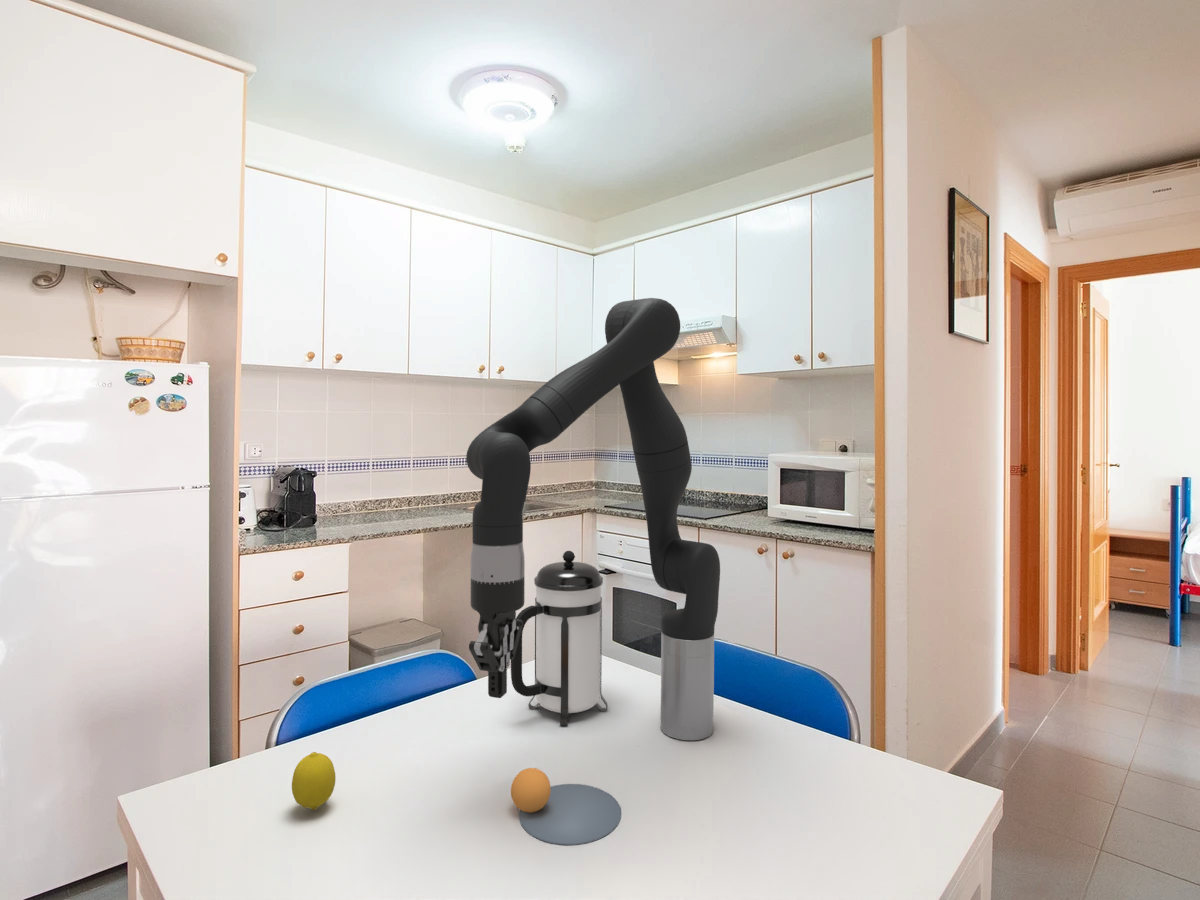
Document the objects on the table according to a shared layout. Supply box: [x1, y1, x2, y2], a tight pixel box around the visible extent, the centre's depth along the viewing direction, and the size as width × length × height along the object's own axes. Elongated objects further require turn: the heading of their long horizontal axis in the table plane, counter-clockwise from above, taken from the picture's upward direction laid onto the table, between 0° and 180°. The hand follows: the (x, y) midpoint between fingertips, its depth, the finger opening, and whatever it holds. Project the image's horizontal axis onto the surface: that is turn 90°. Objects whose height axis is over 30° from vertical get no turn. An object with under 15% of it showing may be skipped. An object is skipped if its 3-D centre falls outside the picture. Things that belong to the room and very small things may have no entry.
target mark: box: [518, 783, 622, 846], centre depth 91 cm, size 14×14×1 cm
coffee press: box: [510, 550, 609, 727], centre depth 122 cm, size 17×16×30 cm
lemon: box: [291, 751, 336, 811], centre depth 91 cm, size 6×6×8 cm
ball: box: [510, 767, 551, 813], centre depth 91 cm, size 6×6×6 cm
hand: (497, 695), depth 93 cm, fingers closed
